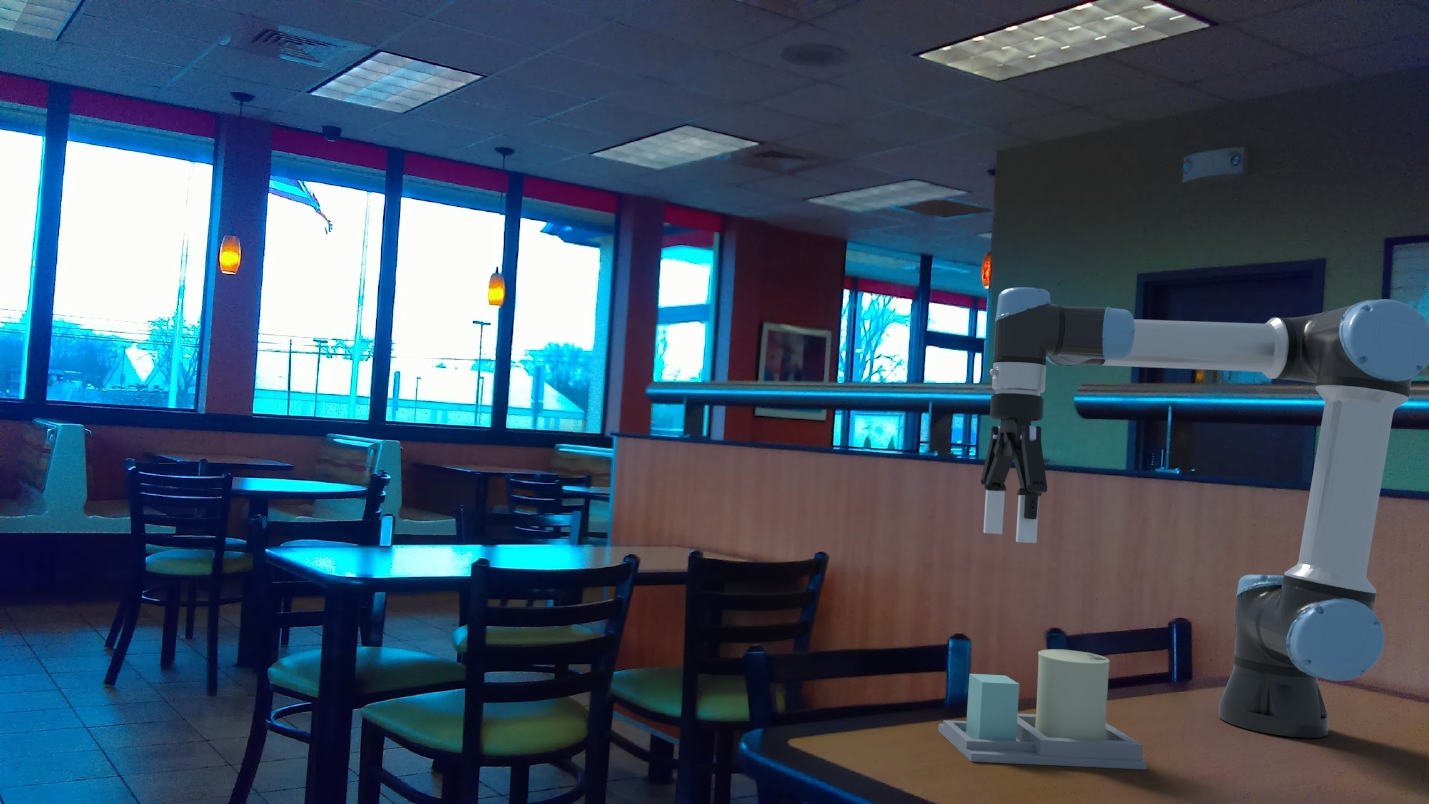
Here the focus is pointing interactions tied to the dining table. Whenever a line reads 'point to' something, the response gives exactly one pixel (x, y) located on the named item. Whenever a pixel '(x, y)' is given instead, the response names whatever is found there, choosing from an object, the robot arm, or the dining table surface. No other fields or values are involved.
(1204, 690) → the dining table surface
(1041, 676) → the can
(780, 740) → the dining table surface
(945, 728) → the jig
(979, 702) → the block
